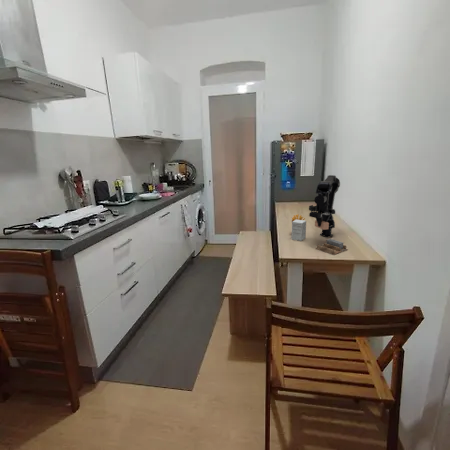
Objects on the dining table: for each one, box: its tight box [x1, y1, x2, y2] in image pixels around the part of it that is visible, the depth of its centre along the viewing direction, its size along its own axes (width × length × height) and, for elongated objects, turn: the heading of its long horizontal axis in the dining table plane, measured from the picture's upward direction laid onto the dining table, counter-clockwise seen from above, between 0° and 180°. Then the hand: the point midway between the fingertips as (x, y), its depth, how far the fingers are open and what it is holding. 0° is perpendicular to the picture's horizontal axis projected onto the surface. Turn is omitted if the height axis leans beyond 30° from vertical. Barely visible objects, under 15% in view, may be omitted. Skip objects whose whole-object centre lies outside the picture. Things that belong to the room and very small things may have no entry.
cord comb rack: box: [315, 242, 349, 256], centre depth 155 cm, size 13×13×2 cm
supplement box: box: [291, 219, 307, 242], centre depth 175 cm, size 7×7×13 cm
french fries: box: [291, 213, 306, 223], centre depth 184 cm, size 9×8×15 cm
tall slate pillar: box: [325, 238, 344, 250], centre depth 157 cm, size 9×4×4 cm, turn 33°
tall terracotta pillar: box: [314, 219, 329, 230], centre depth 165 cm, size 9×4×4 cm, turn 17°
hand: (321, 226), depth 165 cm, fingers closed on tall terracotta pillar, 4 cm apart
